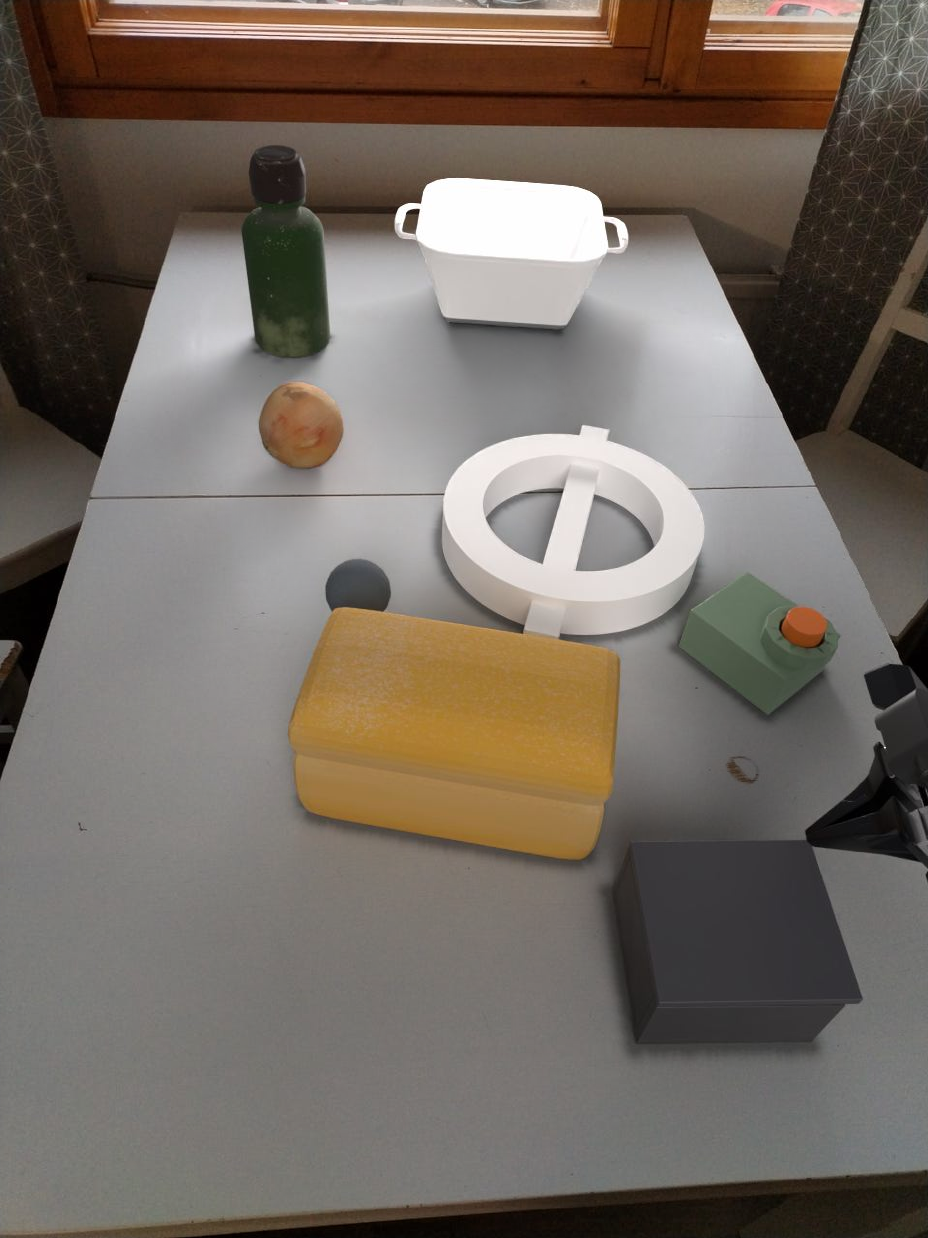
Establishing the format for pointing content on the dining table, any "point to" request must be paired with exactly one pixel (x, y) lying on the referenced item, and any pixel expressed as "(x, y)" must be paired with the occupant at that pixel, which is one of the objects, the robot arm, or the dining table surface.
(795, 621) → the button
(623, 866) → the charcoal lidded box
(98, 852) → the dining table surface
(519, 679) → the bread
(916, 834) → the robot arm
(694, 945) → the fryer lid
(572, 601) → the white circle with bar
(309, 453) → the orange-brown rounded lump
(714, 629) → the control block
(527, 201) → the tub
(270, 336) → the green bottle
